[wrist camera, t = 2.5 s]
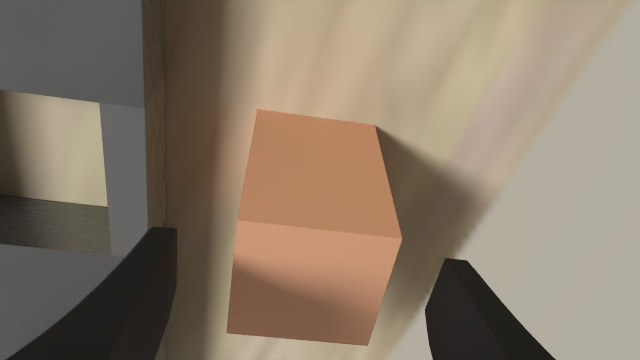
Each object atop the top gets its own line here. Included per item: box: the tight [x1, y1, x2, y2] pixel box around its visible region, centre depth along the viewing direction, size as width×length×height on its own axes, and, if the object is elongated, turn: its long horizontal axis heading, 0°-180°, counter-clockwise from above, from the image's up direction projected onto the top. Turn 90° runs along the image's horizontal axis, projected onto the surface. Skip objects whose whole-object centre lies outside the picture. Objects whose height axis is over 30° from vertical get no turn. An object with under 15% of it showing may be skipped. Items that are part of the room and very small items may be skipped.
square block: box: [227, 109, 402, 346], centre depth 16 cm, size 4×4×6 cm
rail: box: [0, 0, 166, 360], centre depth 16 cm, size 24×8×2 cm, turn 171°
